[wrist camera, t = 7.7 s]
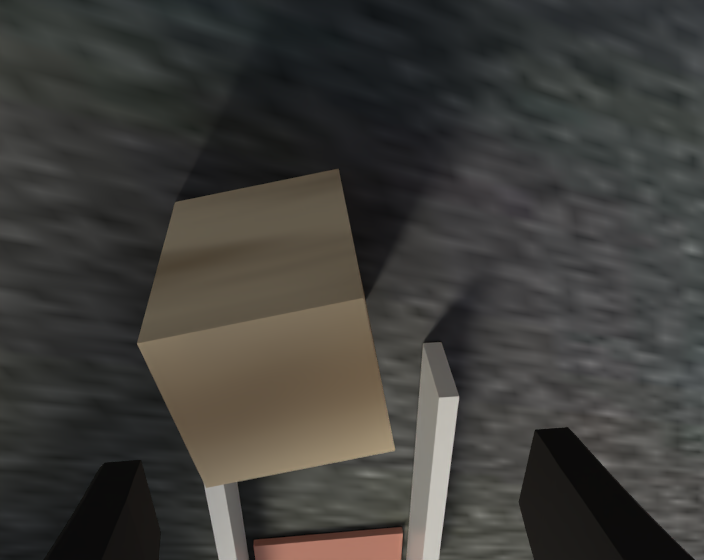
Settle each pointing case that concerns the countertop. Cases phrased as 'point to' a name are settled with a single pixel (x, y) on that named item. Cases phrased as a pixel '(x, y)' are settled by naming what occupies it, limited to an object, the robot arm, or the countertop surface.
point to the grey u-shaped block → (377, 544)
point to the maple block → (265, 332)
